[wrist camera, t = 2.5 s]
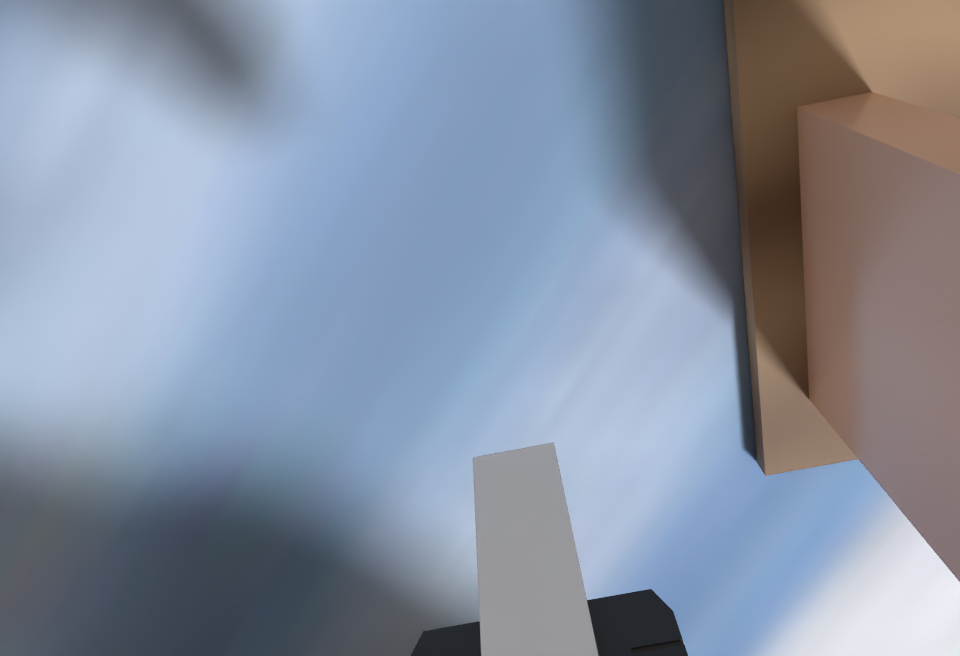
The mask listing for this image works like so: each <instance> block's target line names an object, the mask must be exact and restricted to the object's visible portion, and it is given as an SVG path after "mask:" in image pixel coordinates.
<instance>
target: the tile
mask: <svg viewBox="0 0 960 656" xmlns="http://www.w3.org/2000/svg"><path fill="white" fill-rule="evenodd" d="M797 122H798V146H799V169H800V193H801V217H802V240H803V264H804V288H805V312H806V335H807V359H808V383H809V400H810V401H811V402H812V404H813V405H814V406H815V407H816V408H817V410H818V411H819V412H820V413H821V414H822V416H823V417H824V418H825V419H826V421H827V422H828V423H829V424H830V425H831V427H832V428H833V429H834V430H835V431H836V433H837V434H838V435H839V436H840V437H841V439H842V440H843V441H844V442H845V444H846V445H847V446H848V447H849V448H850V450H851V451H852V452H853V453H854V454H855V456H856V457H857V458H858V459H859V460H860V462H861V463H862V464H863V465H864V467H865V468H866V469H867V470H868V471H869V473H870V474H871V475H872V476H873V477H874V479H875V480H876V481H877V482H878V483H879V485H880V486H881V487H882V488H883V490H884V491H885V492H886V493H887V494H888V496H889V497H890V498H891V499H892V500H893V502H894V503H895V504H896V505H897V506H898V508H899V509H900V510H901V511H902V513H903V514H904V515H905V516H906V517H907V519H908V520H909V521H910V522H911V523H912V525H913V526H914V527H915V528H916V529H917V531H918V532H919V533H920V534H921V536H922V537H923V538H924V539H925V540H926V542H927V543H928V544H929V545H930V546H931V548H932V549H933V550H934V551H935V552H936V554H937V555H938V556H939V557H940V559H941V560H942V561H943V562H944V563H945V565H946V566H947V567H948V568H949V569H950V571H951V572H952V573H953V574H954V575H955V577H956V578H957V579H958V580H959V582H960V119H959V118H956V117H953V116H949V115H946V114H943V113H940V112H936V111H933V110H930V109H926V108H923V107H920V106H917V105H913V104H910V103H907V102H903V101H900V100H897V99H894V98H890V97H887V96H884V95H881V94H877V93H874V92H869V93H864V94H859V95H854V96H849V97H844V98H839V99H834V100H829V101H824V102H819V103H814V104H809V105H804V106H799V107H797Z"/></svg>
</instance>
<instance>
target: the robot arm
mask: <svg viewBox="0 0 960 656" xmlns="http://www.w3.org/2000/svg"><path fill="white" fill-rule="evenodd" d="M473 475H474V498H475V521H476V544H477V568H478V591H479V614H480V622H474V623H468V624H463V625H457V626H451V627H446V628H440V629H434V630H429V631H424V632H423V634H422V635H421V637H420V639H419V641H418V643H417V645H416V647H415V649H414V651H413V653H412V654H411V656H688V654H687V651H686V648H685V645H684V644H683V640H682V637H681V634H680V631H679V628H678V625H677V622H676V619H675V616H674V613H673V611H672V610H671V609H670V608H669V607H668V606H667V605H666V604H665V603H664V602H663V601H662V600H661V599H660V598H659V597H658V596H657V595H656V594H655V593H654V592H653V591H652V590H651V589H649V590H643V591H638V592H632V593H626V594H621V595H615V596H609V597H604V598H598V599H592V600H587V599H586V594H585V589H584V584H583V580H582V575H581V570H580V565H579V561H578V556H577V551H576V546H575V541H574V537H573V532H572V527H571V522H570V518H569V513H568V508H567V503H566V499H565V494H564V489H563V484H562V479H561V475H560V470H559V465H558V460H557V456H556V451H555V446H554V443H548V444H543V445H538V446H532V447H527V448H522V449H516V450H511V451H505V452H500V453H495V454H489V455H484V456H479V457H473Z"/></svg>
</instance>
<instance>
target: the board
mask: <svg viewBox="0 0 960 656" xmlns="http://www.w3.org/2000/svg"><path fill="white" fill-rule="evenodd" d="M723 1H724V15H725V29H726V42H727V56H728V70H729V84H730V98H731V111H732V125H733V139H734V153H735V166H736V180H737V194H738V208H739V221H740V235H741V249H742V263H743V276H744V290H745V304H746V318H747V331H748V345H749V359H750V373H751V387H752V400H753V414H754V428H755V442H756V455H757V463H758V465H759V466H760V468H761V470H762V471H763V473H764V474H765V476H767V475H772V474H778V473H783V472H789V471H795V470H800V469H806V468H811V467H817V466H822V465H828V464H833V463H839V462H844V461H850V460H855V459H858V458H857V457H856V456H855V454H854V453H853V452H852V451H851V450H850V448H849V447H848V446H847V445H846V444H845V442H844V441H843V440H842V439H841V437H840V436H839V435H838V434H837V433H836V431H835V430H834V429H833V428H832V427H831V425H830V424H829V423H828V422H827V421H826V419H825V418H824V417H823V416H822V414H821V413H820V412H819V411H818V410H817V408H816V407H815V406H814V405H813V404H812V402H811V401H810V400H809V383H808V359H807V335H806V312H805V288H804V264H803V240H802V217H801V193H800V169H799V146H798V122H797V107H799V106H804V105H809V104H814V103H819V102H824V101H829V100H834V99H839V98H844V97H849V96H854V95H859V94H864V93H869V92H874V93H877V94H881V95H884V96H887V97H890V98H894V99H897V100H900V101H903V102H907V103H910V104H913V105H917V106H920V107H923V108H926V109H930V110H933V111H936V112H940V113H943V114H946V115H949V116H953V117H956V118H959V119H960V0H723Z"/></svg>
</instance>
